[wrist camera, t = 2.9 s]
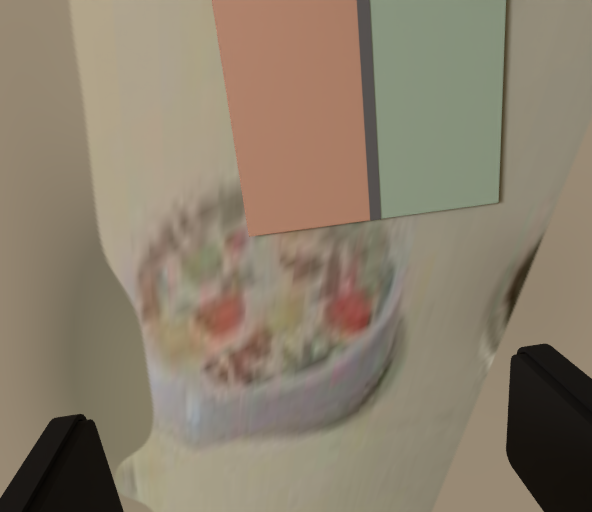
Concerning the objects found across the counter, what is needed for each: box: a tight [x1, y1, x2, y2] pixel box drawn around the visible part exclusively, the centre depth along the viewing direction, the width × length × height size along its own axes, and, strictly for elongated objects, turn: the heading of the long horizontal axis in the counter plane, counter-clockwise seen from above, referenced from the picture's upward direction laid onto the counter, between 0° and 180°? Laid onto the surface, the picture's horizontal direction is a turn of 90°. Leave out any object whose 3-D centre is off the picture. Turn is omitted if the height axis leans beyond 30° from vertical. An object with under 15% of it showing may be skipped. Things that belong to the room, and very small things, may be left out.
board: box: [212, 0, 506, 237], centre depth 31 cm, size 18×19×1 cm
